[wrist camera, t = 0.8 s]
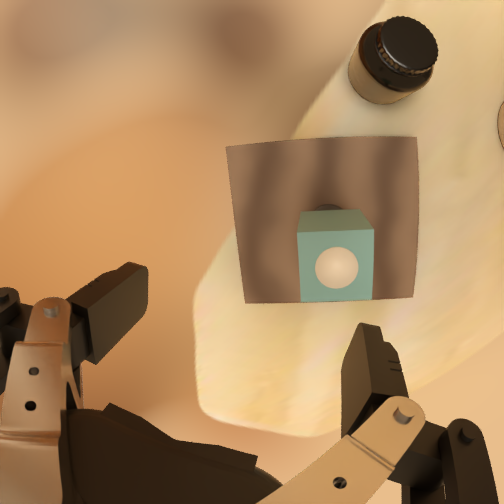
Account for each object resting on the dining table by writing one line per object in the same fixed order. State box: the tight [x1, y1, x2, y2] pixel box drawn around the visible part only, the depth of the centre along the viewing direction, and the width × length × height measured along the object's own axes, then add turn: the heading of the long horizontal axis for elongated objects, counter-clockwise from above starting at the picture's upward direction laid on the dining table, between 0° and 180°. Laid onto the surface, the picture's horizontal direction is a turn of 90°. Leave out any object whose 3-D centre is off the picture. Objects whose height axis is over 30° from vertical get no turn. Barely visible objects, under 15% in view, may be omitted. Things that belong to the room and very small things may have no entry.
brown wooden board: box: [226, 137, 419, 303], centre depth 30 cm, size 20×18×9 cm
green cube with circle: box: [297, 209, 374, 302], centre depth 24 cm, size 5×5×7 cm
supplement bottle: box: [348, 16, 438, 104], centre depth 22 cm, size 7×7×12 cm
